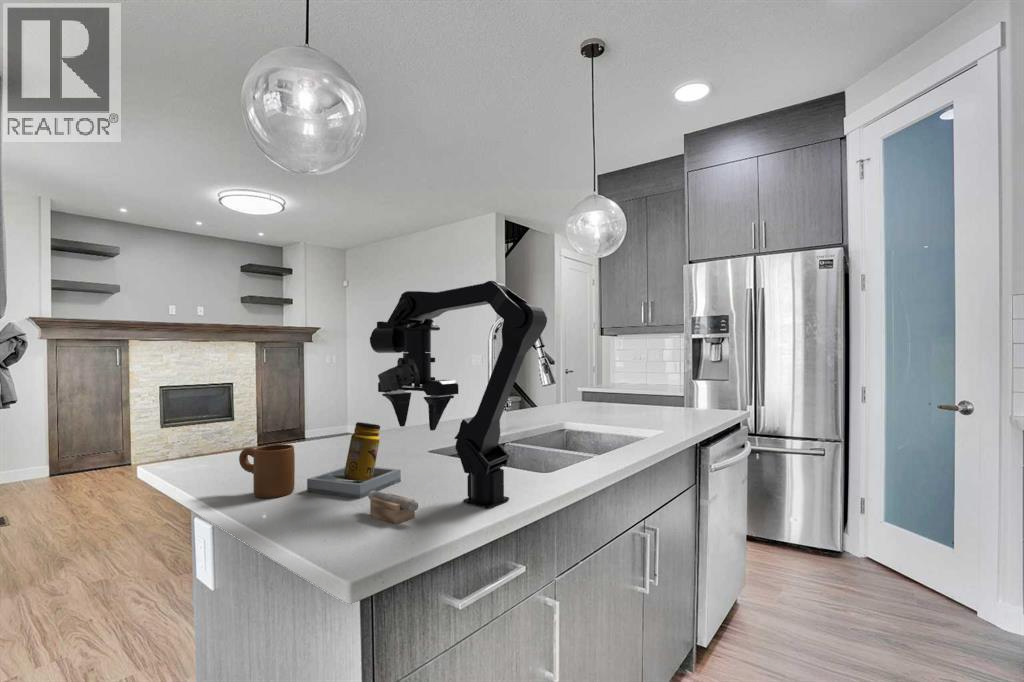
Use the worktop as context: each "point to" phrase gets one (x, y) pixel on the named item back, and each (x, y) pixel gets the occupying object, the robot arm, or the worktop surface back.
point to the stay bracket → (391, 507)
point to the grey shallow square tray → (353, 483)
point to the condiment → (361, 453)
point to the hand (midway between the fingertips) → (417, 428)
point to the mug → (270, 469)
